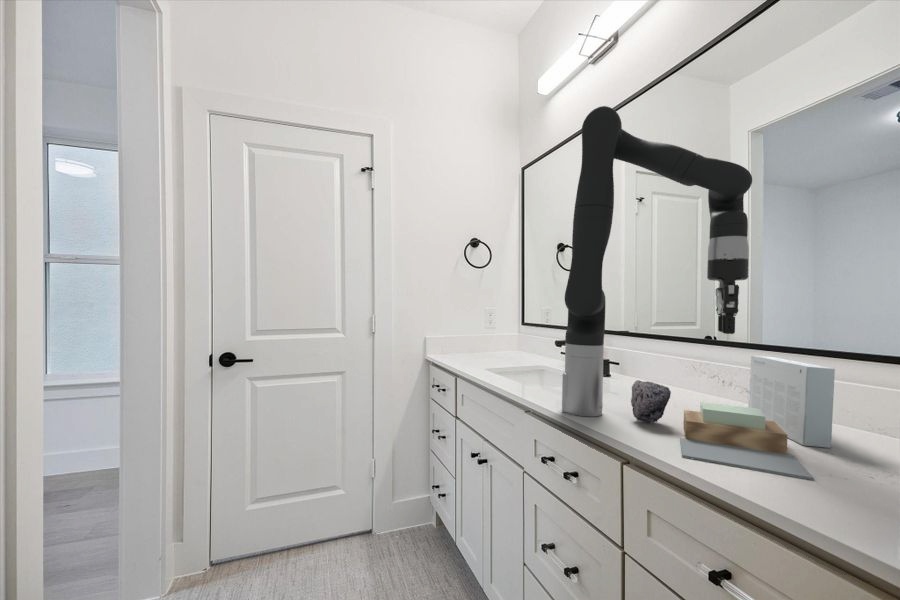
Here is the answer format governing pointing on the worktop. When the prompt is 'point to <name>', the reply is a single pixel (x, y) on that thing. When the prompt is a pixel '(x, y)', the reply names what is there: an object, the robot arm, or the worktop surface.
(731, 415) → the soap bar
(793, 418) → the skincare box
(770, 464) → the mat
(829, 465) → the worktop surface
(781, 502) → the worktop surface
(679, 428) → the worktop surface
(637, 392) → the pumice stone
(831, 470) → the worktop surface
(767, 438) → the light wood block
